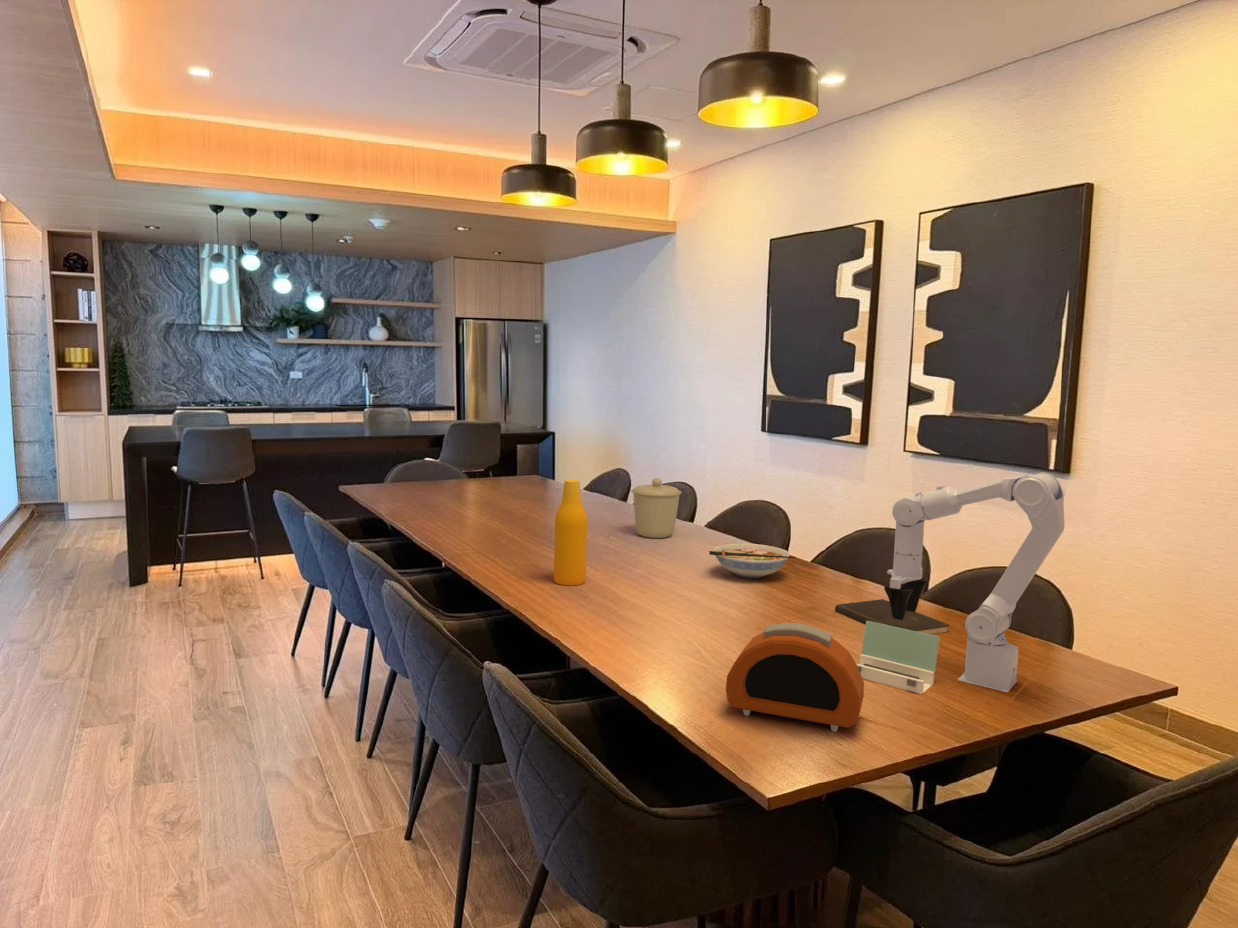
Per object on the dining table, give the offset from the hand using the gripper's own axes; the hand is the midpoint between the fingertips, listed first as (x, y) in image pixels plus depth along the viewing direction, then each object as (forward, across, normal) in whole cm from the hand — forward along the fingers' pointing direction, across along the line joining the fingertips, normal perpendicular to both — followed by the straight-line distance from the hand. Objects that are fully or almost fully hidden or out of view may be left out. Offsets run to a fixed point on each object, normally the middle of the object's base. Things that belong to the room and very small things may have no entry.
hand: (904, 614), depth 178 cm
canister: (+9, -68, -114) cm, 133 cm away
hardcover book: (+11, -26, -12) cm, 31 cm away
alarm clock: (+10, +42, -5) cm, 43 cm away
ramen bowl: (+10, -41, -60) cm, 74 cm away
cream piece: (+10, +14, +2) cm, 17 cm away
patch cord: (+10, +14, +2) cm, 17 cm away
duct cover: (+4, +10, +3) cm, 11 cm away
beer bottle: (+9, +2, -94) cm, 94 cm away
